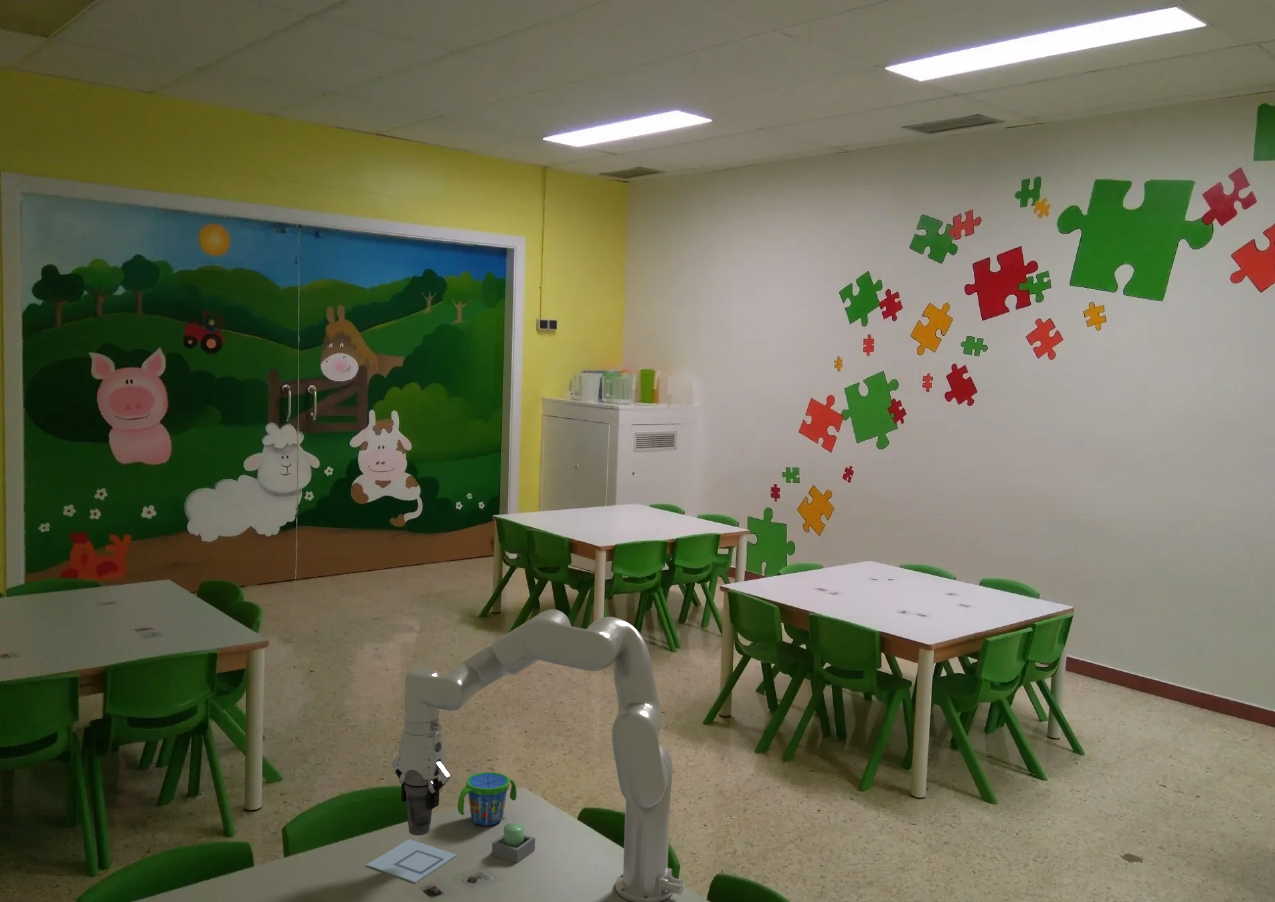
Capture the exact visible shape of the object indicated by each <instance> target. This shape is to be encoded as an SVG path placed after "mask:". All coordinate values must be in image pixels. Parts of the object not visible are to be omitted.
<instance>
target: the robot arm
mask: <svg viewBox="0 0 1275 902" xmlns="http://www.w3.org/2000/svg"><path fill="white" fill-rule="evenodd" d="M539 661H543V662H545V663H546V662H547V663H550V664H554V665H559V666H563V667H569V668H573V669H578V670H583V671H589V672H598V671H603V670H605V669H607V668H609V667H610V666H611V665H612V669H613V679H614V680H613V681H614V687H615V691H616V697H617V698H616V700H617V707H618V710H617V713H616V714H617V715H616V717H615V718H614V720H613V724H612V728H611V741H612V750H613V756H614V761H615V762H614V763H615V768H616V774H617V780H618V784H619V788H620V792H621V794H622V796H623V797H624V799H625V815H624V839H623V840H624V841H623V864H622V865H623V866H622V867H623V868H622V870H623V871H622V873H621V874H620V875H619V876H617V878H616V879H615V890H616V892H617V894H618V895H620V897H622V898H623V899H625V900H628V901H630V902H662V901H665V900H667V899H668V898H671V896H672V895H673V894H676V895H679V896H681V895H682V894H683V892H684V885H683V883H684V881H683V880H682V879H679V878H675V877H674V875H672V874H673V869H672V868H670V867H668V866H669V865H668V864H669V842H670V841H669V837H670V817H671V798H672V797H671V796H672V795H671V793H672V784H673V783H672V782H673V771H674V769H673V760H672V757H671V754H670V753H669V751H668V750H667V749H666V747H664V746H663V745H662V744H660V742H659V735H660V733H661V728H662V726H663V716H662V712H661V706H660V702H659V696H658V695H659V694H658V690H657V685H656V680H655V676H654V670H653V665H652V660H651V655H650V651H649V649H648V646H647V643H646V641H645V639H644V637H643V636H642V634H641V632H639V631H638V630H637V629H636V628H635V626H634V625H632V624H631V623H629V622H627V621H626V620H624V619H621V618H619V617H615V616H603V617H600V618H597V619H596V620H594V621H593V622H592V623H590V624H589V626H588V627H587V628H581V627H577V626H572V624H571V622H570V619H569V617H568V616H567V615H566V613H564V612H563V611H560V610H558V609H547V610H545V611H542V612H540V613H538V614H537V615H535V616H534V617H532V618H530V619H529V620H527V621H526V622H524V623H522V624H521V625H519V626H518V627H516V628H513V630H511V631H510V632H508V633H507V634H505V635H503V636H501V637H499V638H498V639H497V640H495V641H494V642H492V643H491V644H490V645H488V646H486V647H485V648H483V649H482V650H480V651H478V652H477V653H475V654H473V655H472V656H470V657H469V658H467V659H466V660H464V661H463V662H461V663H460V664H457V665H456V666H454V667H453V668H452V669H451V670H450V671H449V672H447V673H446V674H443V675H441V676H440V673H439V672H438V671H437V670H436V669H433V668H430V667H417V668H413V669H411V670H409V671H407V672H406V674H405V676H404V706H403V707H404V709H403V710H404V712H403V714H404V715H403V717H404V718H403V729H401V730H402V731H401V735H400V739H399V747H398V748H399V749H398V756H397V757H396V758H395V759H393V760H392V761H391V762H390V763H391V766H392V767H393V770H394V771H395V774H396V776H397V777H398V783H399V784H400V785H401V789H400V801H401V802H403V803H405V802H406V791H405V787H404V778H405V774H406V772H407V771H409V770H415V771H417V772H418V773H419V774H420V775H421V776H422V777H423V779H425V780H427V784H428V787H429V790H430V792H428V796H427V809H428V810H432V811H433V809H434V808H437V807H438V806H439V805H440V790H441V789H442V788H443V787H444V786H445V785H446V784H447V782H449V780H451V777H452V776H451V775H450V773H449V772H448V770H447V769H446V753H445V743H444V737H443V733H442V728H443V726H442V724H440V710H443V711H448V712H454V711H459V709H461V708H463V706H465V705H466V704H467V703H468V701H470V700H471V698H472V697H474V696H475V695H476V694H477V693H478V692H480V691H481V690H483V689H484V688H486V687H487V686H489V685H491V684H492V683H494V682H496V681H497V680H499V679H500V678H502V677H505V676H508V675H511V676H515V675H518V674H519V673H521V672H523V671H525V670H526V669H528V668H530V666H532V665H534V664H536V663H537V662H539ZM433 779H435V785H434V783H433Z"/></svg>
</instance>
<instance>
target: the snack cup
mask: <svg viewBox="0 0 1275 902" xmlns="http://www.w3.org/2000/svg"><path fill="white" fill-rule="evenodd" d="M465 783H466V784H465V786H464V787H463V788H462V790H461V791H460V794H459V796H458V800H457V806H456V807H457V811H458V813H459V814H460V815H461V816H464V815H465V811H464V807H465V797H466V796H467V795H468V803H469V812H470V817H471V821H472V823H473V824H476V825H479V826H484V827H489V826H493V825H496V824H498V823H501V821H502V819H503V816H504V810H505V807H506V801H507V792H508V790H509V788H510V792H509V799H511V801H516V800H517V794H518V793H517V785H516V783H515V781H514V780H513V779H511V777H508V776H507V775H505V774H503V773H499V772H494V771H491V772H490V771H487V772H486V771H485V772H477V773H474V774H472V775H470V776H469V777H467V779H466V781H465ZM510 785H511V787H510Z"/></svg>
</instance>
